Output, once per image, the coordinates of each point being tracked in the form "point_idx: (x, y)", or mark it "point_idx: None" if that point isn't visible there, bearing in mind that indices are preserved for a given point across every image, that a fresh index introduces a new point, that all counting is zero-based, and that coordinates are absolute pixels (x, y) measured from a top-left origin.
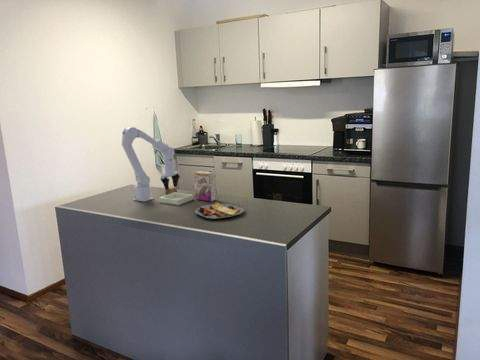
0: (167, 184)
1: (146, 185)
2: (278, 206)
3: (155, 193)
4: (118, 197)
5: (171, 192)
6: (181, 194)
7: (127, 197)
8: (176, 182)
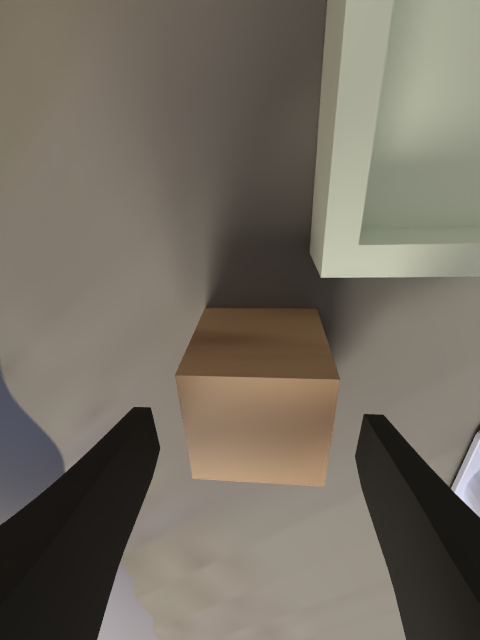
0: (472, 514)
1: None
2: None
3: (267, 514)
4: None
5: (327, 341)
6: (382, 32)
7: None
8: (102, 476)
